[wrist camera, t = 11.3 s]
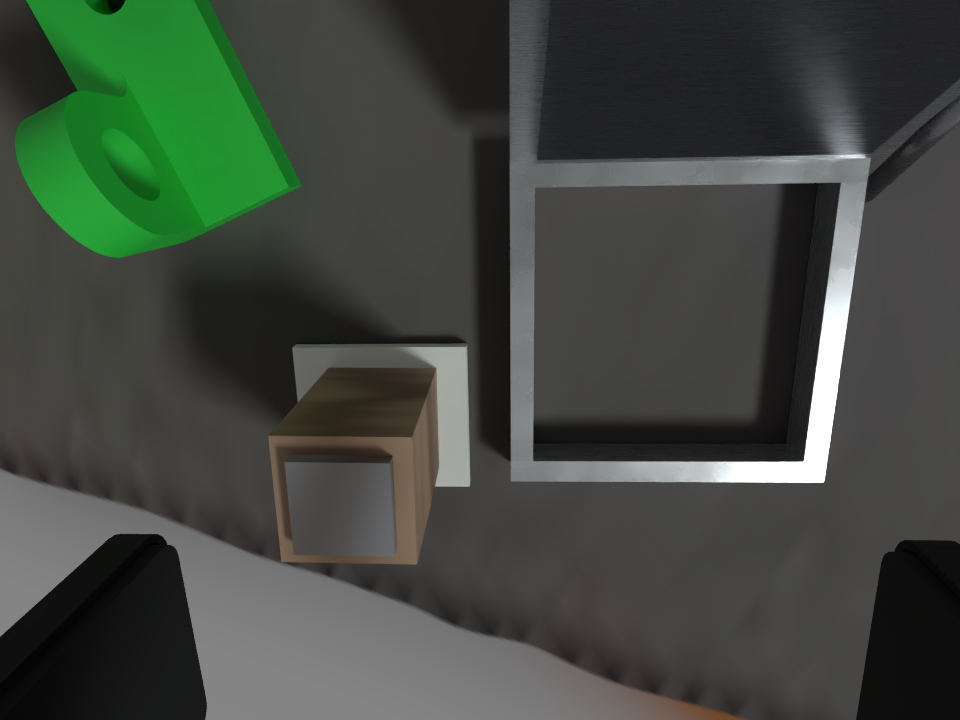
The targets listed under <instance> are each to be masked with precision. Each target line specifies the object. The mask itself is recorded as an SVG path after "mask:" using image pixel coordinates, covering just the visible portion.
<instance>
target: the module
mask: <svg viewBox="0 0 960 720" xmlns="http://www.w3.org/2000/svg"><path fill="white" fill-rule="evenodd" d="M268 437H269V447H270V456H271V466H272V475H273V485H274V494H275V504H276V513H277V523H278V532H279V542H280V551H281V561H282V562H315V563H368V564H417V562H418V558H419V554H420V549H421V545H422V540H423V536H424V532H425V527H426V523H427V519H428V514H429V510H430V506H431V501H432V497H433V493H434V488H435V484H436V479H437V475H438V471H439V441H438V403H437V368H328V369H327V370H326V371H325V372H324V373H323V375H322V376H321V377H320V378H319V379H318V380H317V381H316V382H315V384H314V385H313V386H312V387H311V388H310V389H309V390H308V392H307V393H306V394H305V395H304V396H303V397H302V398H301V399H300V401H299V402H298V403H297V404H296V405H295V406H294V407H293V409H292V410H291V411H290V412H289V413H288V414H287V415H286V416H285V418H284V419H283V420H282V421H281V422H280V423H279V424H278V425H277V427H276V428H275V429H274V430H273V431H272V432H271V433H270V435H269V436H268Z"/></svg>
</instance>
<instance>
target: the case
mask: <svg viewBox="0 0 960 720" xmlns="http://www.w3.org/2000/svg"><path fill="white" fill-rule="evenodd" d="M509 34H510V363H511V481H574V482H824V478H825V472H826V465H827V458H828V451H829V444H830V437H831V430H832V423H833V416H834V409H835V402H836V395H837V388H838V381H839V374H840V368H841V361H842V354H843V347H844V340H845V333H846V326H847V319H848V312H849V305H850V298H851V291H852V284H853V277H854V270H855V264H856V257H857V250H858V243H859V236H860V229H861V222H862V215H863V208H864V202H869V201H871V200H873V199H874V198H875V197H876V196H877V195H878V194H879V193H880V192H882V191H883V190H884V189H885V188H886V187H887V186H888V185H890V184H891V183H892V182H893V181H894V180H895V179H896V178H897V177H899V176H900V175H901V174H902V173H903V172H904V171H905V170H907V169H908V168H909V167H910V166H911V165H912V164H913V163H915V162H916V161H917V160H918V159H919V158H920V157H921V156H922V155H924V154H925V153H926V152H927V151H928V150H929V149H930V148H932V147H933V146H934V145H935V144H936V143H937V142H938V141H939V140H941V139H942V138H943V137H944V136H945V135H946V134H947V133H949V132H950V131H951V130H952V129H953V128H954V127H955V126H956V125H958V124H959V123H960V0H509ZM917 129H918V130H917ZM916 130H917V131H916ZM915 131H916V132H915ZM914 132H915V133H914ZM912 133H914V134H913V135H911V134H912ZM910 135H911V136H910ZM909 136H910V137H909ZM907 137H909V138H908V139H907V140H906V141H905V142H904V143H903V144H902V145H901V146H900V147H899V148H898V149H897V150H896V151H895V152H894V153H893V154H892V155H891V156H890V157H888V158H887V159H886V160H885V161H884V162H883V163H882V164H881V165H880V166H879V167H878V168H877V169H876V170H875V171H874V172H873V173H872V174H871V175H870V176H869V177H868V173H869V166H870V160H871V158H883V157H884V156H885V155H886V154H888V153H889V152H890V151H891V150H893V149H894V148H895V147H896V146H898V145H899V144H900V143H901V142H903V141H904V140H905V139H906V138H907ZM778 183H818V188H817V196H816V204H815V212H814V220H813V228H812V236H811V244H810V252H809V261H808V269H807V277H806V285H805V293H804V301H803V309H802V317H801V325H800V333H799V341H798V349H797V357H796V365H795V374H794V382H793V390H792V398H791V406H790V414H789V422H788V430H787V438H786V444H608V443H533V393H534V237H535V187H591V186H653V185H716V184H778Z"/></svg>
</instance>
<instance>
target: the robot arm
mask: <svg viewBox="0 0 960 720" xmlns="http://www.w3.org/2000/svg"><path fill="white" fill-rule="evenodd" d="M206 710H207V702H206V696H205V690H204V686H203V680H202V675H201V670H200V665H199V660H198V655H197V649H196V644H195V639H194V634H193V629H192V623H191V618H190V613H189V608H188V603H187V598H186V592H185V588H184V582H183V577H182V572H181V567H180V561H179V557H178V553H177V550H176V549H175V548H174V547H173V546H171V545H167V543H166V541H165V539H164V538H163V537H162V536H160V535H158V534H118V535H114V536H113V537H111V538H109V539H108V540H107V541H106V542H105V543H104V544H103V545H102V546H100V547H99V548H98V549H97V550H96V551H95V552H94V553H93V554H92V555H91V556H90V557H88V558H87V559H86V560H85V561H84V562H83V563H82V564H81V565H79V566H78V567H77V568H76V569H75V570H74V571H73V572H72V573H71V574H69V575H68V576H67V577H66V578H65V579H64V580H63V581H62V582H61V583H59V584H58V585H57V586H56V587H55V588H54V589H53V590H52V591H51V592H49V593H48V594H47V595H46V596H45V597H44V598H43V599H42V600H41V601H40V602H38V603H37V604H36V605H35V606H34V607H33V608H32V609H31V610H29V611H28V612H27V613H26V614H25V615H24V616H23V617H22V618H21V619H20V620H18V621H17V622H16V623H15V624H14V625H13V626H12V627H11V628H10V629H8V630H7V631H6V632H5V633H4V634H3V635H2V636H1V637H0V720H205V717H206ZM856 720H960V544H958V543H957V542H955V541H940V540H904V541H902V542H900V543H899V544H898V545H897V547H896V549H895V552H888V553H886V554H885V555H884V557H883V559H882V562H881V568H880V574H879V580H878V587H877V593H876V599H875V605H874V612H873V618H872V624H871V630H870V637H869V643H868V649H867V655H866V662H865V668H864V674H863V680H862V687H861V693H860V699H859V706H858V712H857V718H856Z"/></svg>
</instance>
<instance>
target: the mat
mask: <svg viewBox="0 0 960 720" xmlns="http://www.w3.org/2000/svg"><path fill="white" fill-rule="evenodd" d="M292 350H293V360H294V370H295V380H296V390H297V400H298V402H299V401H300V399H301V398H302V397H303V396H304V395H305V394H306V393H307V392H308V390H309V389H310V388H311V387H312V386H313V385H314V384H315V382H316V381H317V380H318V379H319V378H320V377H321V376H322V375H323V373H324V372H325V371H326V370H327V369H328V368H437V403H438V441H439V471H438V475H437V479H436V484H435V486H464V487H470V447H469V404H468V361H467V343H453V344H296V345H295V346H294V347H293V348H292Z"/></svg>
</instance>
